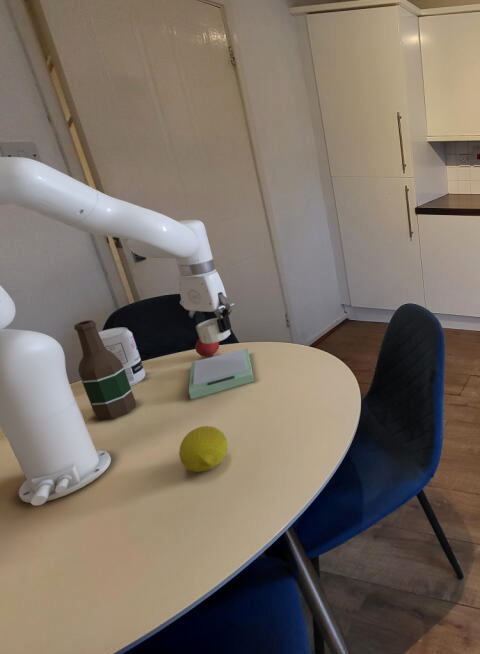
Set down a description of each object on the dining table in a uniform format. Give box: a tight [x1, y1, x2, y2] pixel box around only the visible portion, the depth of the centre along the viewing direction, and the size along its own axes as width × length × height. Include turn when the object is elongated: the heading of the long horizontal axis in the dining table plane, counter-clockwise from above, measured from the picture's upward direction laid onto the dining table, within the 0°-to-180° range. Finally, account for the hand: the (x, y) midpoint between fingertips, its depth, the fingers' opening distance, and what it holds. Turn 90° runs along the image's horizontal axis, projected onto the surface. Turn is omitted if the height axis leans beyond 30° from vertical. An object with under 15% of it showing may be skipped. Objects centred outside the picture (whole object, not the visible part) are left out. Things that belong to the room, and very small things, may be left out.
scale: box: [188, 348, 255, 400], centre depth 117 cm, size 18×14×3 cm
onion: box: [194, 338, 220, 358], centre depth 126 cm, size 6×6×8 cm
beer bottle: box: [73, 319, 137, 421], centre depth 99 cm, size 8×8×24 cm
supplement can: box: [98, 326, 146, 387], centre depth 112 cm, size 8×8×15 cm
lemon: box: [178, 425, 228, 473], centre depth 84 cm, size 11×8×8 cm
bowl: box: [195, 317, 232, 344], centre depth 113 cm, size 7×7×5 cm
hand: (213, 329), depth 113 cm, fingers closed on bowl, 7 cm apart
